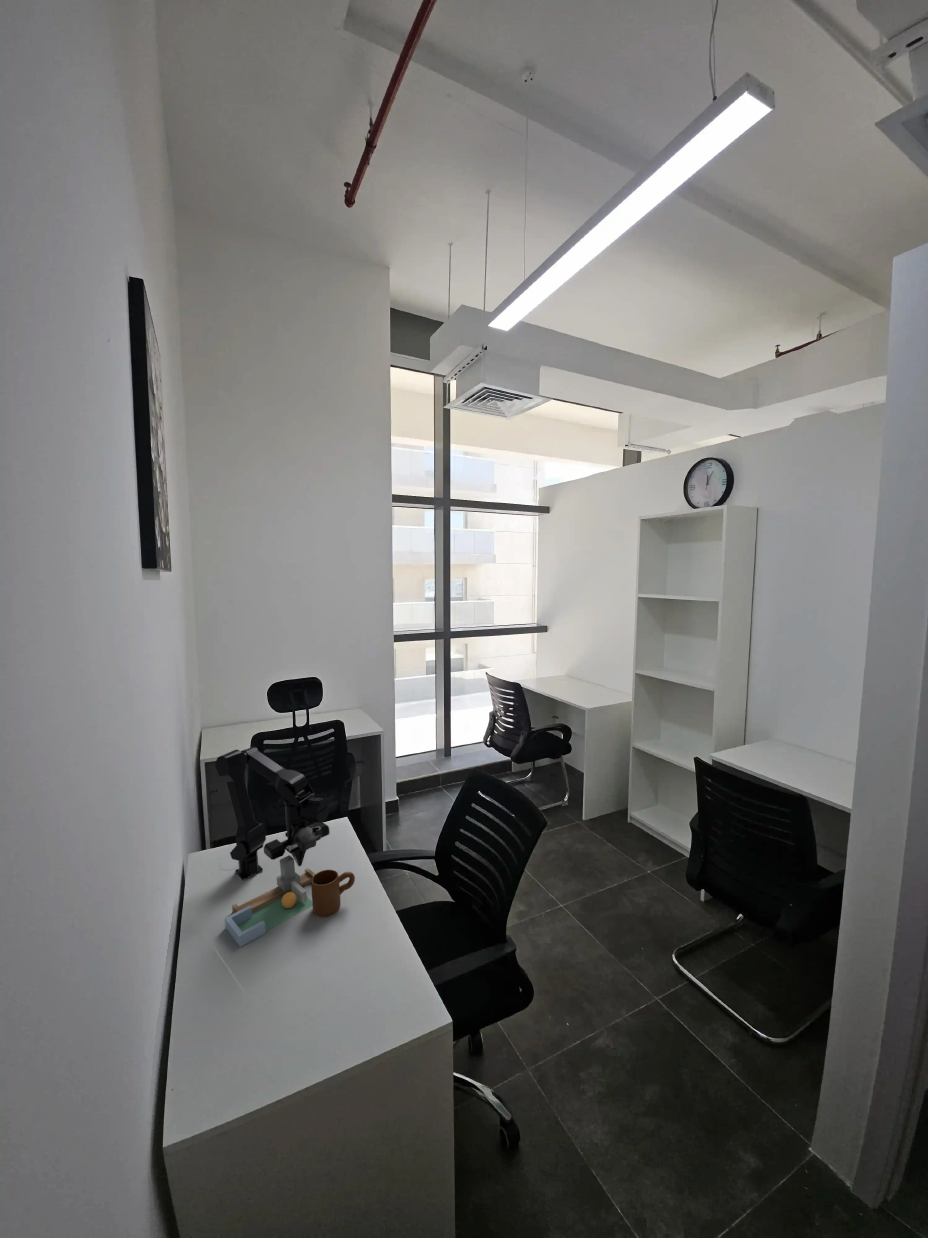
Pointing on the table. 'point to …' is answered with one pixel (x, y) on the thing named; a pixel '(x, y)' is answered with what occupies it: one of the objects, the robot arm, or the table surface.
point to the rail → (272, 894)
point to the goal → (247, 934)
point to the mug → (328, 891)
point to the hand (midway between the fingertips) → (299, 865)
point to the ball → (289, 900)
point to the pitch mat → (274, 914)
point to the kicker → (290, 878)
